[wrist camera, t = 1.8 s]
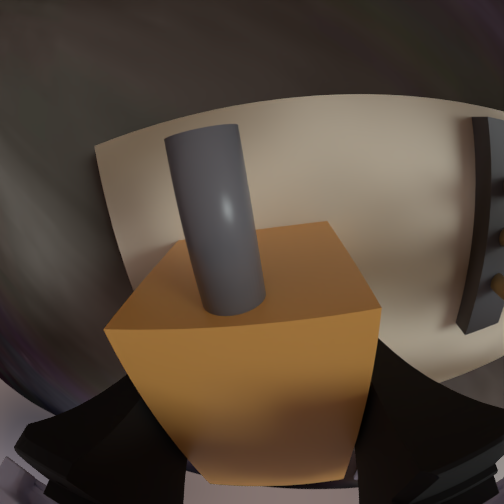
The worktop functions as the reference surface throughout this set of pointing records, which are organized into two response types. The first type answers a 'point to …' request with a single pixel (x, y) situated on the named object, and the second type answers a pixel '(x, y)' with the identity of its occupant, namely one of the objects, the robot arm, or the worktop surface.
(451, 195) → the board
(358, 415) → the socket block
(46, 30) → the worktop surface
